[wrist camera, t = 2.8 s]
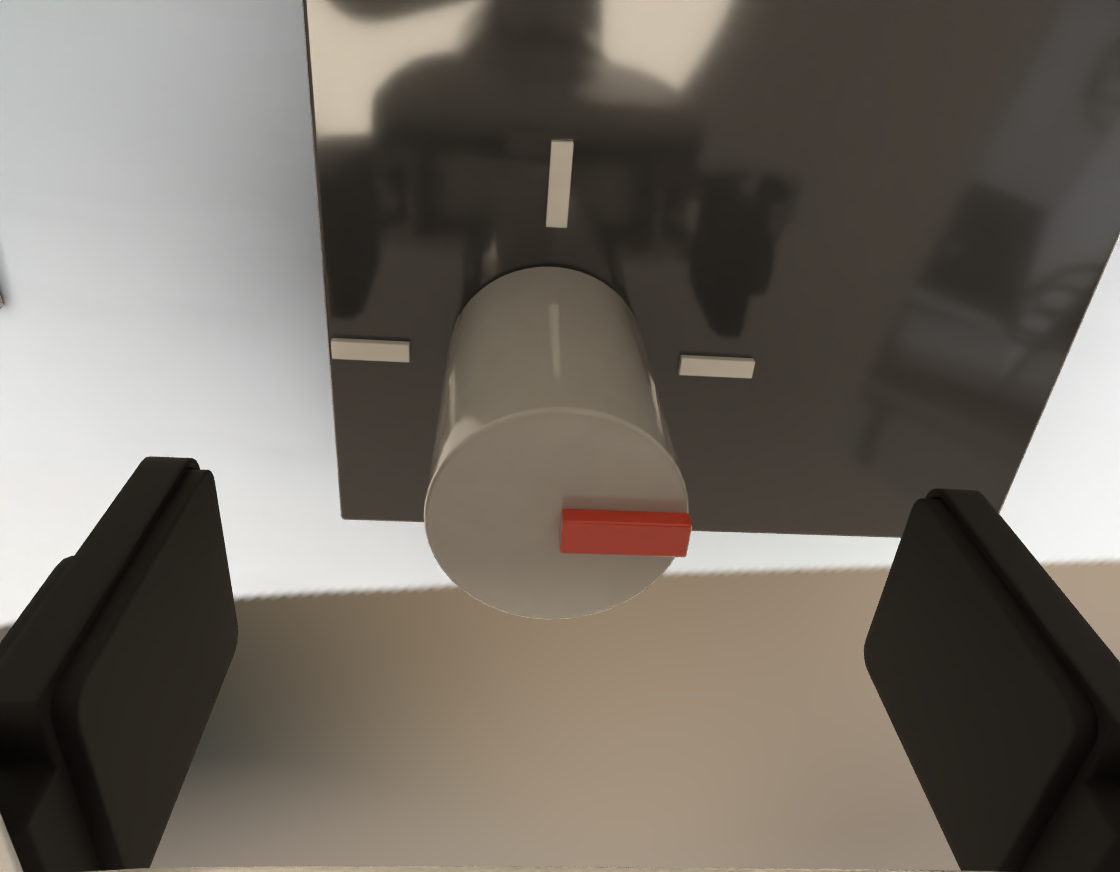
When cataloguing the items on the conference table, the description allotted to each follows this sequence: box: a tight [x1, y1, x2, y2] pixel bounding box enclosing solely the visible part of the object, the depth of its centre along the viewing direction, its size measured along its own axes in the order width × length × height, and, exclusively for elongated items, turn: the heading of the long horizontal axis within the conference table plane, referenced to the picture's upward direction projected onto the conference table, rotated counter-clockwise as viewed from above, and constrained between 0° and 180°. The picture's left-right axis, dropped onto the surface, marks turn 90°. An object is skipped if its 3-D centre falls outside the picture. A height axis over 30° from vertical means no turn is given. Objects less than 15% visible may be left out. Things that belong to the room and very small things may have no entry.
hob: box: [302, 0, 1120, 538], centre depth 14 cm, size 18×14×3 cm
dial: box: [424, 267, 692, 620], centre depth 13 cm, size 4×4×5 cm
